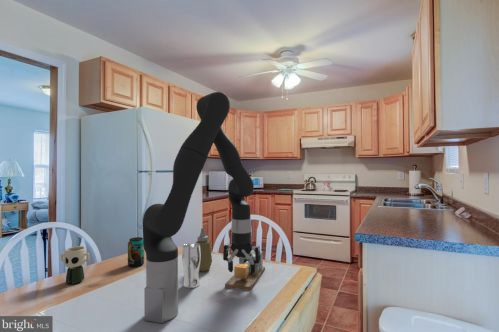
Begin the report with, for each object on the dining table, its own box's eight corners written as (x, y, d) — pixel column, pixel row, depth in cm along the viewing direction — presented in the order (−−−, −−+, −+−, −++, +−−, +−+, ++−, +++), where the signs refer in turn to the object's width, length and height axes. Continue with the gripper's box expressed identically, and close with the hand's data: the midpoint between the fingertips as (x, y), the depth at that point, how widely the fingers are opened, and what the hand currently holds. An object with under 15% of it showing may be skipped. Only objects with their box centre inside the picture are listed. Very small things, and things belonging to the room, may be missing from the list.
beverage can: (124, 266, 128) (124, 240, 128) (134, 261, 135) (134, 236, 135) (137, 268, 126) (137, 241, 126) (147, 263, 133) (147, 237, 133)
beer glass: (196, 289, 104) (196, 248, 104) (178, 288, 105) (178, 247, 105) (203, 282, 111) (203, 243, 111) (186, 280, 112) (186, 242, 112)
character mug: (55, 285, 107) (55, 251, 107) (66, 278, 115) (66, 246, 115) (84, 285, 108) (84, 251, 108) (94, 278, 115) (94, 245, 115)
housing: (250, 290, 103) (250, 268, 103) (224, 287, 106) (224, 265, 106) (265, 269, 124) (265, 251, 124) (243, 267, 127) (243, 249, 127)
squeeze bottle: (210, 273, 120) (210, 230, 120) (191, 273, 120) (191, 230, 120) (213, 266, 128) (213, 226, 128) (195, 266, 128) (195, 226, 128)
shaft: (245, 278, 106) (245, 268, 106) (234, 277, 107) (234, 266, 107) (260, 260, 127) (260, 251, 127) (250, 259, 128) (250, 250, 128)
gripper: (220, 231, 107) (220, 274, 107) (256, 233, 103) (257, 278, 103) (227, 227, 114) (227, 267, 114) (261, 229, 110) (262, 270, 110)
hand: (241, 272), depth 109 cm, fingers open, 8 cm apart
